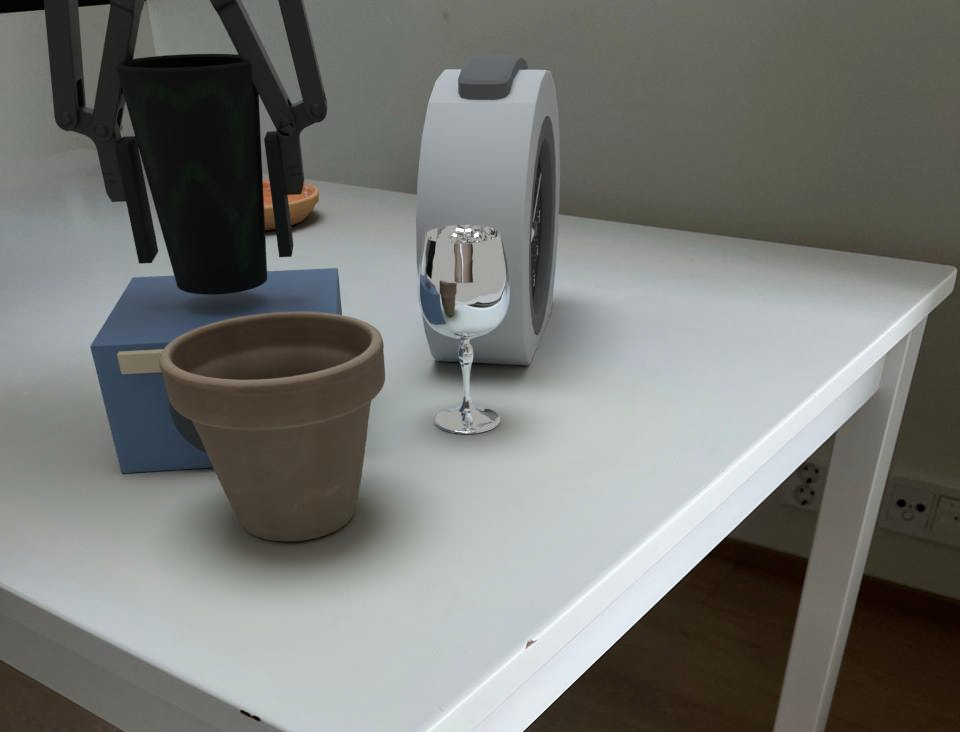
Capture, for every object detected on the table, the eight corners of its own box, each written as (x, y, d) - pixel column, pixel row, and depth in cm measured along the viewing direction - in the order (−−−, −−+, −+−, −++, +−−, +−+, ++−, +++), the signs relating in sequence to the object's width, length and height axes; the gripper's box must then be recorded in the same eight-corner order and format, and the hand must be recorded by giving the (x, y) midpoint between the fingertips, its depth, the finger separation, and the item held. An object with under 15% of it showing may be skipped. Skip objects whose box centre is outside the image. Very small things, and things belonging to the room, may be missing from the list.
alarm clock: (521, 385, 72) (524, 73, 61) (421, 380, 74) (406, 72, 62) (556, 297, 89) (564, 40, 78) (475, 294, 91) (470, 40, 79)
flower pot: (194, 483, 60) (160, 316, 55) (380, 461, 62) (366, 298, 57) (193, 581, 51) (153, 393, 45) (412, 552, 53) (400, 368, 47)
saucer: (156, 221, 116) (150, 193, 114) (273, 199, 125) (269, 173, 123) (227, 245, 106) (222, 215, 104) (348, 220, 115) (346, 192, 113)
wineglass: (446, 399, 70) (439, 219, 63) (522, 410, 69) (524, 226, 62) (410, 430, 66) (399, 241, 59) (491, 443, 64) (488, 249, 57)
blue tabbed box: (119, 477, 61) (87, 348, 57) (156, 389, 73) (132, 277, 68) (348, 463, 62) (336, 336, 58) (348, 378, 74) (337, 267, 69)
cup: (277, 297, 59) (247, 66, 52) (148, 302, 59) (100, 70, 52) (289, 262, 66) (263, 52, 59) (171, 266, 65) (131, 55, 58)
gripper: (-112, -247, 44) (31, 279, 58) (352, -249, 46) (386, 263, 59) (-57, -225, 50) (61, 246, 64) (351, -228, 52) (383, 232, 65)
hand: (217, 253), depth 61 cm, fingers closed on cup, 8 cm apart
